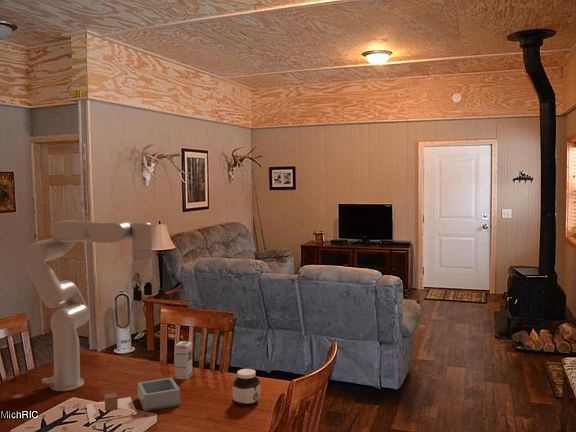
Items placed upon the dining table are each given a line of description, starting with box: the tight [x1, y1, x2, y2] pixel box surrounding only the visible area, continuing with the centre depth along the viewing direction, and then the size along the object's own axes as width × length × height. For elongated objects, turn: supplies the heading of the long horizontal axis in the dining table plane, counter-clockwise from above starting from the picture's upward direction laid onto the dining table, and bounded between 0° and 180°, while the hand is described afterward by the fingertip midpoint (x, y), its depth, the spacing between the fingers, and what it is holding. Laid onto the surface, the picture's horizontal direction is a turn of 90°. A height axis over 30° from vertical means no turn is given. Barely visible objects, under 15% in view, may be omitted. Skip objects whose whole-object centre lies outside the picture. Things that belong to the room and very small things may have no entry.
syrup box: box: [174, 340, 194, 380], centre depth 222 cm, size 6×6×14 cm
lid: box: [85, 392, 137, 424], centre depth 189 cm, size 16×16×6 cm
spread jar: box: [232, 368, 261, 407], centre depth 199 cm, size 12×11×12 cm
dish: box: [137, 377, 181, 412], centre depth 197 cm, size 13×13×6 cm
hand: (143, 297), depth 204 cm, fingers open, 9 cm apart
